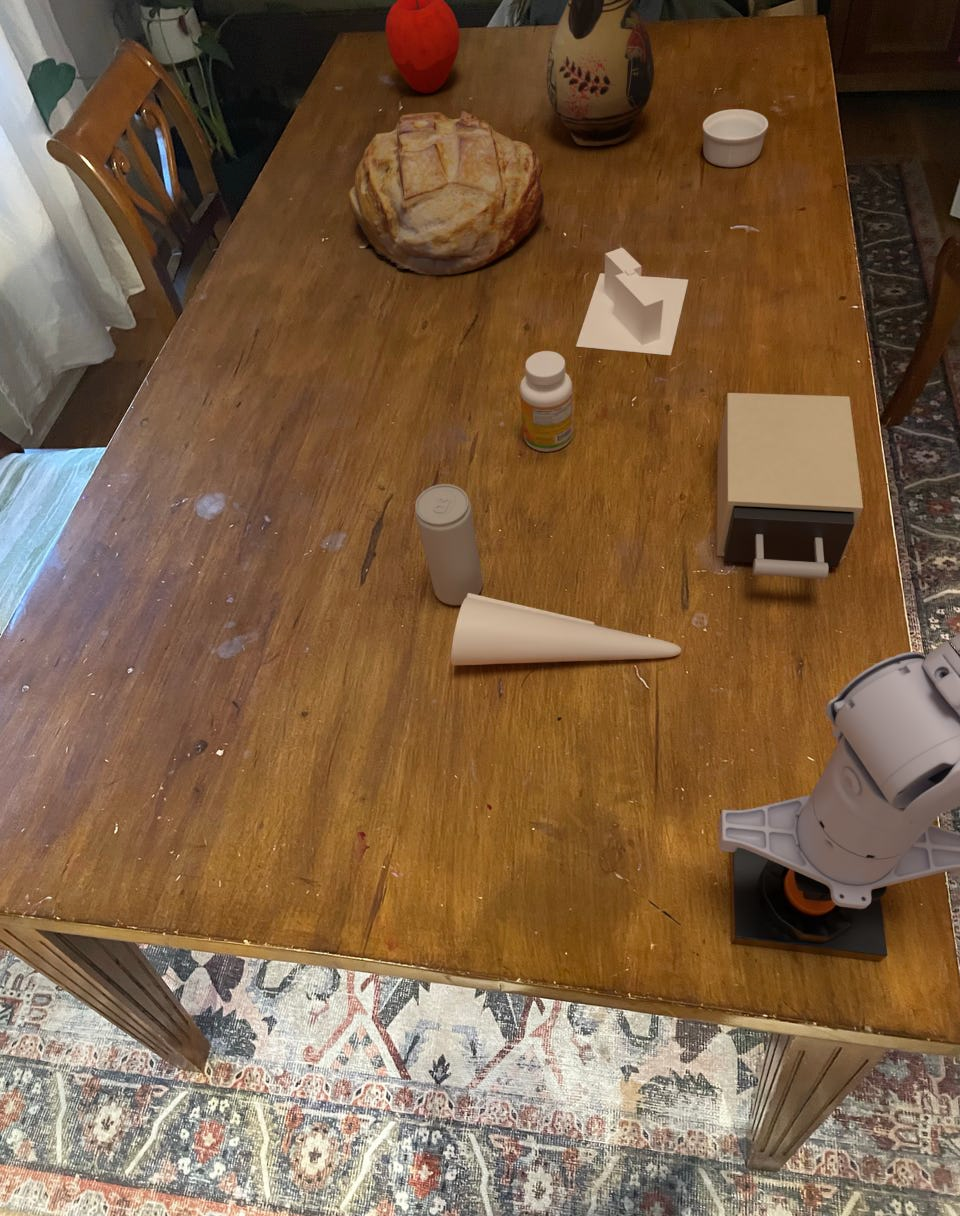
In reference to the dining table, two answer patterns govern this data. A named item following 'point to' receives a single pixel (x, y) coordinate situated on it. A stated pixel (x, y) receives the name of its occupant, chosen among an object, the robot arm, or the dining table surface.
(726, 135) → the ramekin
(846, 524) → the drawer
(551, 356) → the supplement bottle
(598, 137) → the ceramic jug
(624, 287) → the napkin holder
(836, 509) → the cabinet
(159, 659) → the dining table surface
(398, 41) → the apple
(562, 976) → the dining table surface
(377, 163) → the bread
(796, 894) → the button
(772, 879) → the panel
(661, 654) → the long cone
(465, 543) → the beverage can
